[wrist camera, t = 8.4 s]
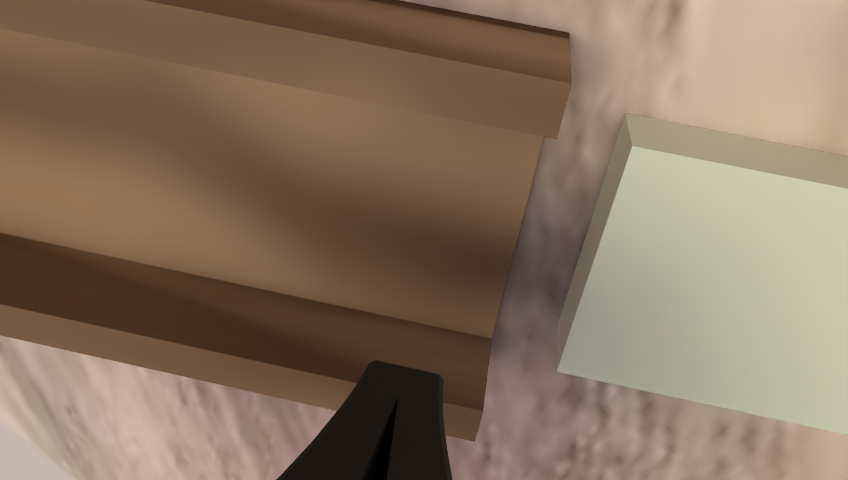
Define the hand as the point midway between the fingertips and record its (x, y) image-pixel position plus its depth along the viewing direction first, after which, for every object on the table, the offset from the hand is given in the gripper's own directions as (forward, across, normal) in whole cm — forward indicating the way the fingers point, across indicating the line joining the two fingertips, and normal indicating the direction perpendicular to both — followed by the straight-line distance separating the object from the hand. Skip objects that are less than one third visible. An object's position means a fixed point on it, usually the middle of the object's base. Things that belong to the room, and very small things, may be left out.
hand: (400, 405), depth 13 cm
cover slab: (+8, -8, 0) cm, 11 cm away
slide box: (+8, +7, 0) cm, 10 cm away
